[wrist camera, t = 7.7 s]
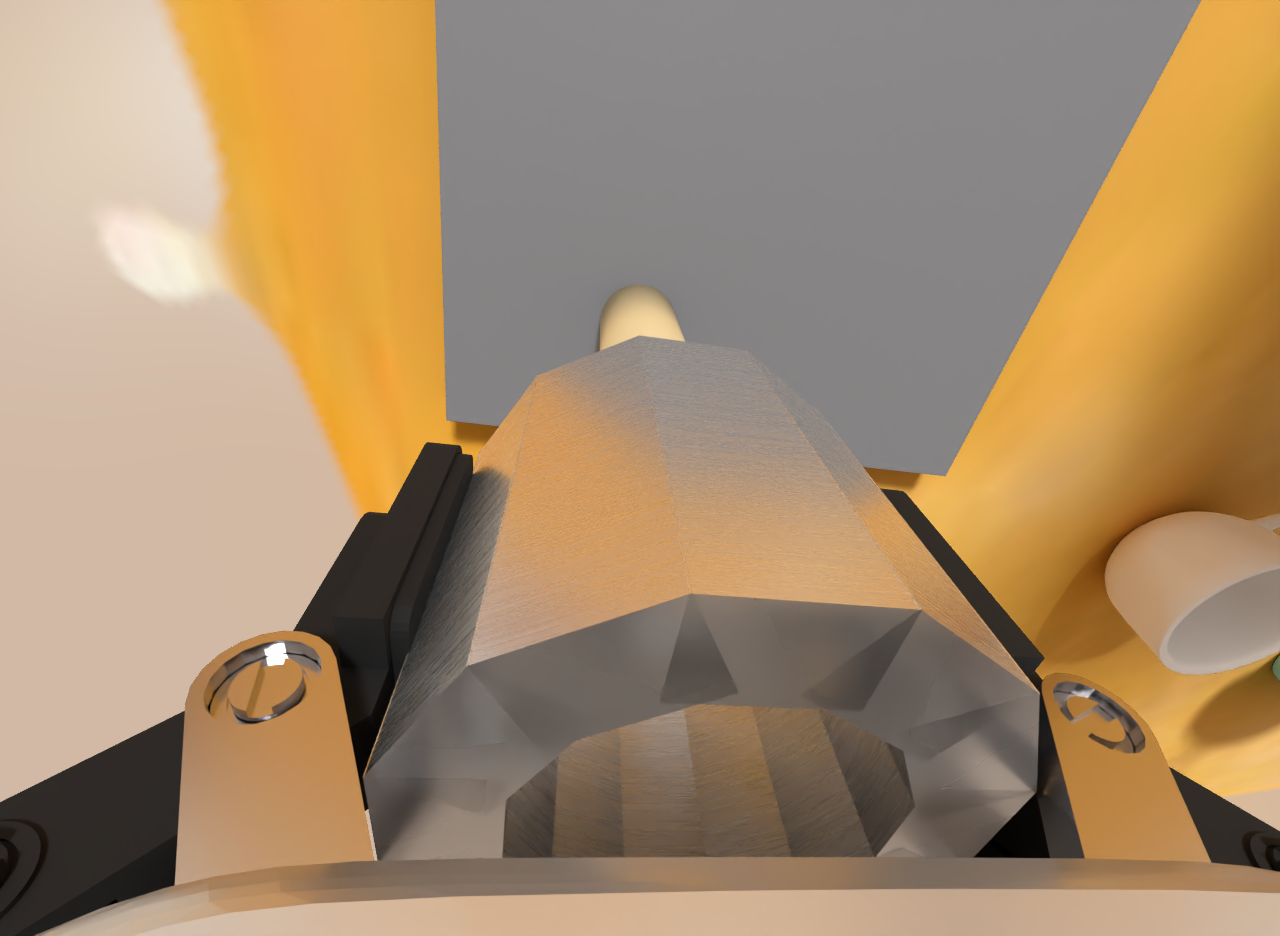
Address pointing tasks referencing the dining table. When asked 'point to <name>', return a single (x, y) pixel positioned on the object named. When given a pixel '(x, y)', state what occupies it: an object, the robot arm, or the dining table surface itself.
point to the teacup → (1200, 589)
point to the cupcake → (1277, 668)
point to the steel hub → (692, 642)
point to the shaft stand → (778, 189)
